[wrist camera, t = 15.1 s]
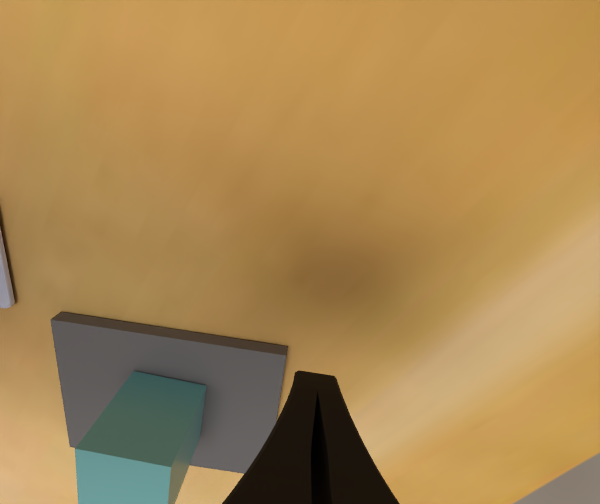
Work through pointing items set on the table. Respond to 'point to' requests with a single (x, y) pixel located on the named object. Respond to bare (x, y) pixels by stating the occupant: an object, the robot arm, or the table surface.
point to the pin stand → (176, 365)
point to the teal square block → (141, 442)
